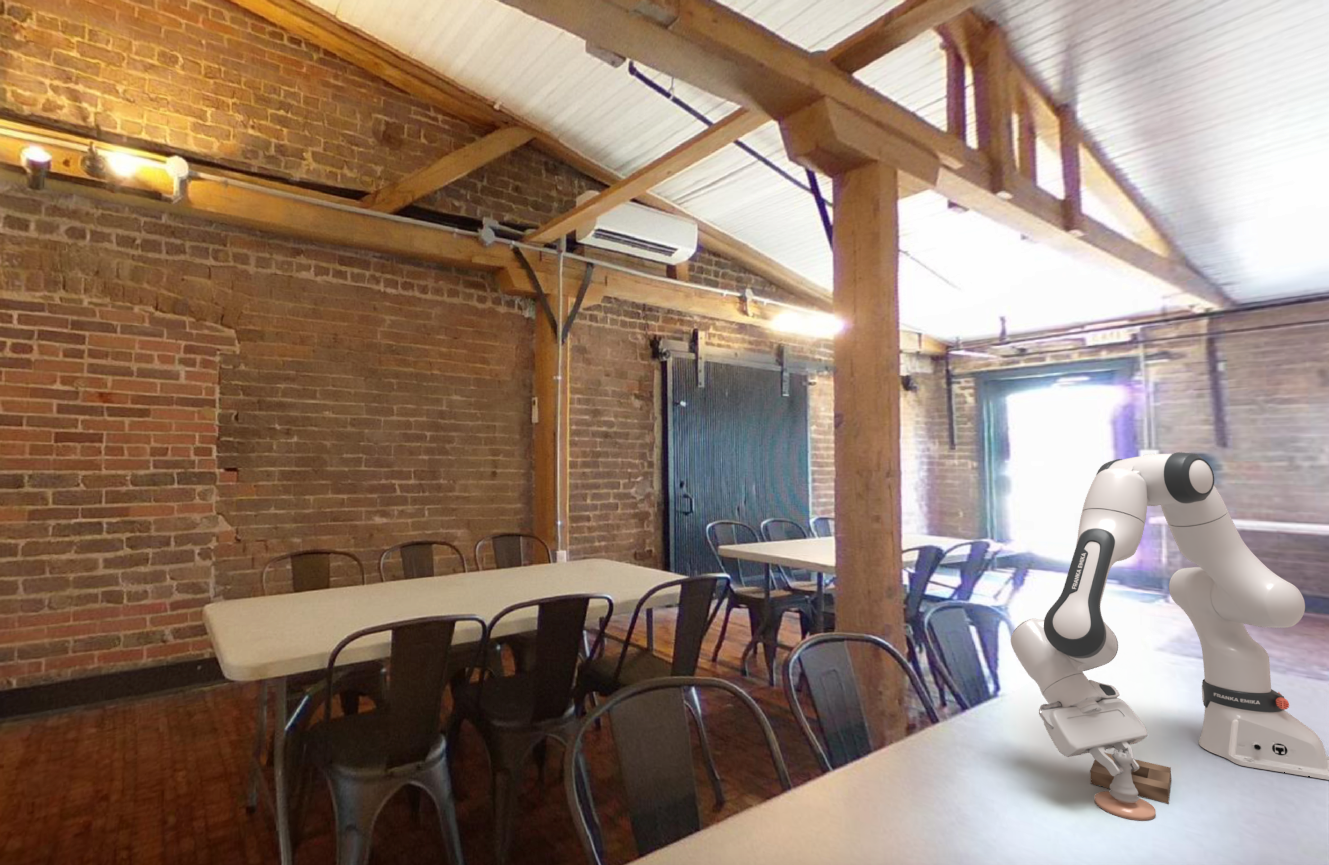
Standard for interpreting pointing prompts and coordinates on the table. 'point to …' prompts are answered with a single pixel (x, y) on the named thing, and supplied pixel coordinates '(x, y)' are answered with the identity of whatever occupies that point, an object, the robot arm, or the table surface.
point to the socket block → (1139, 779)
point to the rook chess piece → (1123, 779)
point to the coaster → (1125, 807)
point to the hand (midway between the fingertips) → (1126, 772)
